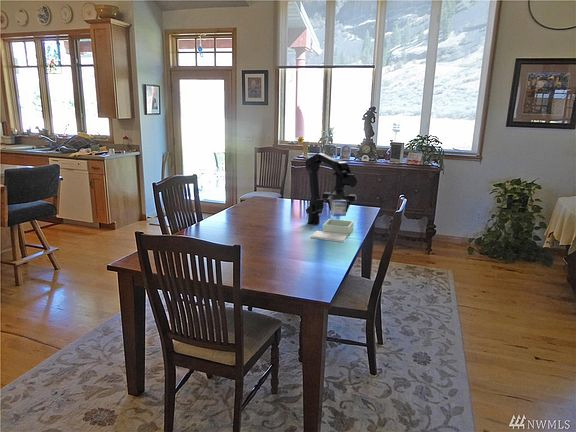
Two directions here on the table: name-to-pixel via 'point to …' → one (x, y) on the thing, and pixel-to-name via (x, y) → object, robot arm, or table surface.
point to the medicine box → (338, 207)
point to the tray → (329, 236)
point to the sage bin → (338, 226)
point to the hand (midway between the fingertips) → (338, 211)
